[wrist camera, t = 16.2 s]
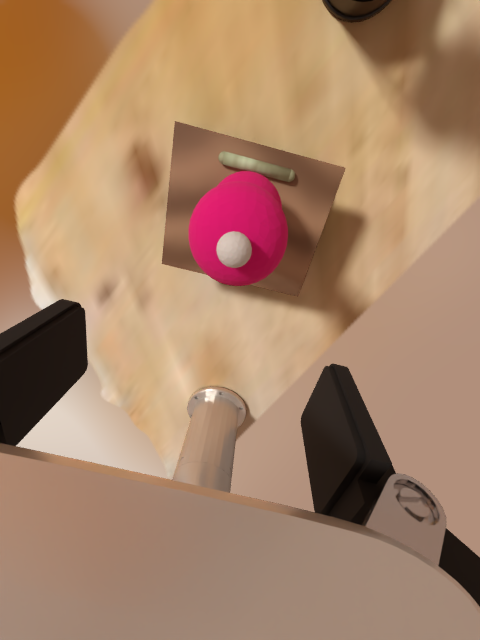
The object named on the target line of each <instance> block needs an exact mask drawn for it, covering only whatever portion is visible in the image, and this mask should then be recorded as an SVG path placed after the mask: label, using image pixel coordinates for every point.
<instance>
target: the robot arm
mask: <svg viewBox="0 0 480 640" xmlns="http://www.w3.org/2000/svg"><path fill="white" fill-rule="evenodd" d="M87 365H88V361H87V341H86V320H85V310H84V308H81V305H80V304H79V303H77V302H73V301H69V300H64V299H61V300H59V301H57V302H55V303H54V304H52V305H50V306H48V307H46V308H45V309H43V310H41V311H39V312H38V313H36V314H34V315H32V316H31V317H29V318H27V319H25V320H24V321H22V322H20V323H18V324H17V325H15V326H13V327H11V328H10V329H8V330H6V331H4V332H3V333H1V334H0V640H480V557H478V556H477V555H476V554H475V553H474V552H472V550H470V549H469V548H468V547H467V546H466V545H465V544H464V543H462V542H461V541H460V540H459V539H458V538H457V537H456V536H454V535H453V534H452V533H451V532H450V531H449V530H448V529H446V516H445V513H444V510H443V508H442V506H441V505H440V503H439V501H438V500H437V498H436V497H435V496H434V495H433V494H432V493H431V491H430V490H428V489H427V488H426V487H425V486H424V485H423V484H422V483H420V482H419V481H417V480H416V479H414V478H412V477H410V476H407V475H405V474H398V473H397V474H396V473H395V471H394V468H393V466H392V462H391V460H390V458H389V456H388V454H387V452H386V449H385V447H384V445H383V443H382V441H381V438H380V436H379V434H378V432H377V430H376V428H375V426H374V423H373V421H372V419H371V417H370V415H369V412H368V410H367V408H366V406H365V404H364V402H363V400H362V397H361V395H360V393H359V391H358V389H357V386H356V384H355V382H354V380H353V378H352V375H351V373H350V371H349V369H348V368H347V367H344V366H340V365H336V364H331V365H330V366H326V367H325V368H324V369H323V372H322V374H321V376H320V378H319V380H318V382H317V384H316V387H315V388H314V390H313V393H312V395H311V397H310V399H309V401H308V403H307V405H306V408H305V409H304V412H303V414H302V417H301V427H302V433H303V440H304V446H305V452H306V459H307V466H308V472H309V478H310V485H311V491H312V497H313V504H314V510H315V513H314V512H310V511H306V510H302V509H298V508H293V507H290V506H285V505H282V504H277V503H273V502H268V501H264V500H259V499H255V498H250V497H246V496H241V495H237V494H232V493H230V488H231V478H232V469H233V460H234V450H235V442H236V433H237V428H238V427H239V426H240V425H241V424H242V423H243V422H244V420H245V417H246V406H245V404H244V401H243V400H242V399H241V398H240V397H239V396H238V395H237V394H236V393H234V392H233V391H231V390H228V389H225V388H222V387H206V388H202V389H200V390H198V391H196V392H195V393H194V394H193V395H192V396H191V397H190V399H189V402H188V406H187V410H188V414H189V416H190V418H191V420H190V424H189V427H188V430H187V434H186V437H185V440H184V443H183V447H182V450H181V453H180V456H179V460H178V463H177V466H176V469H175V473H174V476H173V479H172V480H170V479H165V478H160V477H156V476H151V475H147V474H142V473H138V472H133V471H128V470H124V469H119V468H114V467H109V466H105V465H101V464H96V463H92V462H87V461H82V460H78V459H73V458H68V457H63V456H58V455H54V454H49V453H44V452H40V451H35V450H31V449H26V448H20V447H16V445H17V444H18V443H19V442H20V441H21V440H22V439H23V438H24V437H25V436H26V435H27V433H28V432H29V431H30V430H31V429H32V428H33V427H34V426H35V425H36V424H37V423H38V422H39V421H40V420H41V419H42V418H43V416H45V415H46V413H47V412H48V411H49V410H50V409H51V408H52V407H53V406H54V405H55V404H56V403H57V402H58V401H59V400H60V399H61V398H62V397H63V395H64V394H65V393H66V392H67V391H68V390H69V389H70V388H71V387H72V386H73V385H74V384H75V383H76V382H77V381H78V380H79V379H80V377H81V376H82V375H83V374H84V373H85V371H86V369H87Z"/></svg>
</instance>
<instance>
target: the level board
mask: <svg viewBox="0 0 480 640" xmlns="http://www.w3.org/2000/svg"><path fill="white" fill-rule="evenodd" d="M240 171H251V172H256V173H258V174H261V175H263V176H264V177H266V178H267V179H268V180H269V181H270V182H271V183H273V185H274V186H275V188H276V189H277V191H278V193H279V196H280V198H281V203H282V210H283V212H284V214H285V217H286V221H287V226H288V240H287V247H286V250H285V253H284V256H283V258H282V260H281V261H280V263H279V265H278V266H277V267H276V268H275V270H274V271H273V272H272V273H271V274H269V275H268V276H267V277H266V278H264V279H262V280H260V281H259V282H256V283H253V284H250V285H252V286H256V287H261V288H265V289H269V290H273V291H277V292H281V293H286V294H290V295H294V296H298V295H299V293H300V290H301V287H302V285H303V282H304V279H305V277H306V274H307V271H308V268H309V266H310V263H311V260H312V258H313V255H314V252H315V249H316V247H317V244H318V241H319V239H320V236H321V233H322V230H323V228H324V225H325V222H326V220H327V217H328V214H329V212H330V209H331V206H332V203H333V201H334V198H335V195H336V193H337V190H338V187H339V184H340V182H341V179H342V176H343V174H344V171H345V168H344V167H340V166H337V165H333V164H329V163H326V162H322V161H318V160H315V159H311V158H307V157H304V156H300V155H296V154H293V153H289V152H286V151H282V150H278V149H275V148H271V147H267V146H264V145H260V144H256V143H253V142H249V141H245V140H242V139H238V138H234V137H231V136H227V135H224V134H220V133H216V132H213V131H209V130H205V129H202V128H198V127H194V126H191V125H187V124H183V123H180V122H176V121H175V127H174V138H173V149H172V159H171V170H170V181H169V192H168V203H167V213H166V224H165V235H164V246H163V257H162V264H165V265H169V266H173V267H177V268H181V269H186V270H190V271H194V272H198V273H202V274H206V273H205V272H204V271H203V270H202V269H201V268H200V267H199V265H198V264H197V262H196V261H195V259H194V257H193V255H192V252H191V249H190V245H189V234H188V229H189V223H190V218H191V216H192V213H193V210H194V209H195V207H196V205H197V204H198V202H199V201H200V199H201V198H202V197H203V196H204V195H205V194H206V193H207V192H208V191H210V190H211V189H213V188H215V187H217V185H218V184H219V183H220V182H221V181H222V180H223V179H224V178H226V177H227V176H229V175H231V174H233V173H236V172H240ZM206 275H207V274H206Z"/></svg>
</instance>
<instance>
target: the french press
mask: <svg viewBox="0 0 480 640" xmlns="http://www.w3.org/2000/svg"><path fill="white" fill-rule="evenodd" d="M390 1H391V0H323V3H324V4H325V6H326V7H327V9H328V10H329V11H330V12H331V13H332V14H333V15H334V16H335V17H337V18H339V19H341V20H343V21H347V22H360V21H363V20H366V19H369V18H371V17H373V16H374V15H376V14H378V13H379V12H380V11H381V10H382V9H384V8H385V7H386V6H387V5H388V4H389V2H390Z"/></svg>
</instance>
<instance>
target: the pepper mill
mask: <svg viewBox="0 0 480 640" xmlns="http://www.w3.org/2000/svg"><path fill="white" fill-rule="evenodd" d="M188 234H189V245H190V249H191V252H192V255H193V257H194V259H195V261H196V262H197V264H198V265H199V267H200V268H201V269H202V270H203V271H204V272H205V273H206V274H207V275H208V276H210V277H211V278H212V279H214V280H216V281H218V282H220V283H223V284H227V285H232V286H244V285H250V284H253V283H256V282H259V281H260V280H262V279H264V278H266V277H267V276H268V275H269V274H271V273H272V272H273V271H274V270H275V268H276V267H277V266H278V265H279V263H280V261H281V260H282V258H283V256H284V253H285V250H286V247H287V240H288V226H287V221H286V217H285V214H284V212H283V210H282V203H281V198H280V196H279V193H278V191H277V189H276V188H275V186H274V185H273V183H271V182H270V181H269V180H268V179H267V178H266V177H264V176H263V175H261V174H258V173H256V172H251V171H240V172H236V173H233V174H231V175H229V176H227V177H226V178H224V179H223V180H222V181H221V182H220V183H219V184H218V185H217V187H215V188H213V189H211V190H210V191H208V192H207V193H206V194H205V195H204V196H203V197H202V198H201V199H200V201H199V202H198V204H197V205H196V207H195V209H194V210H193V213H192V216H191V218H190V223H189V229H188Z"/></svg>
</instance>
